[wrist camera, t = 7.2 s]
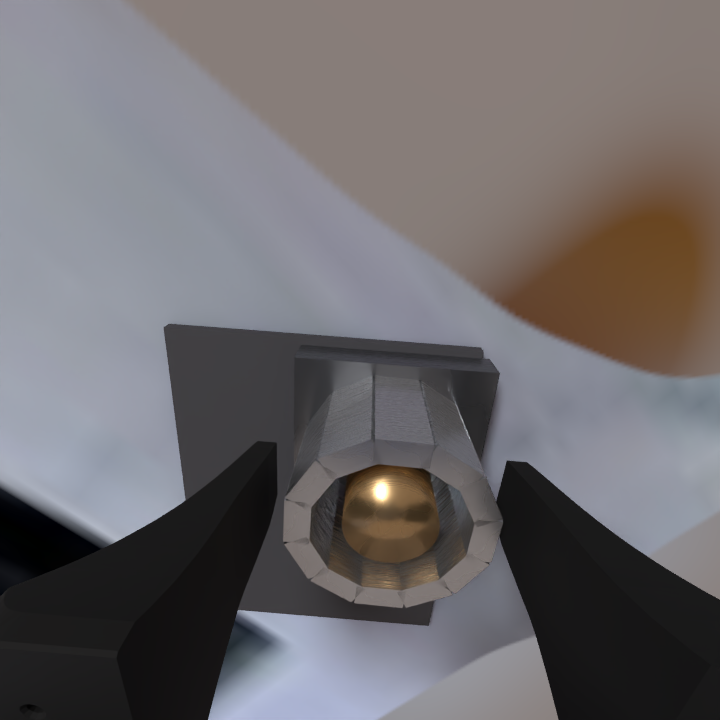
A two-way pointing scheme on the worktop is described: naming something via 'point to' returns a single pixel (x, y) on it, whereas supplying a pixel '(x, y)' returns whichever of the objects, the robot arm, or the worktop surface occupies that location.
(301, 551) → the ring
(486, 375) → the doorknob
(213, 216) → the worktop surface
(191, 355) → the mat
